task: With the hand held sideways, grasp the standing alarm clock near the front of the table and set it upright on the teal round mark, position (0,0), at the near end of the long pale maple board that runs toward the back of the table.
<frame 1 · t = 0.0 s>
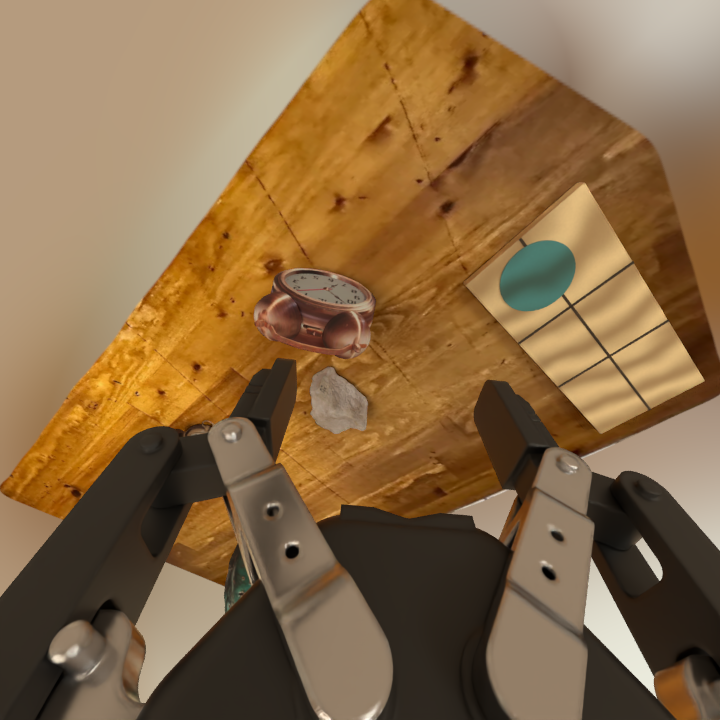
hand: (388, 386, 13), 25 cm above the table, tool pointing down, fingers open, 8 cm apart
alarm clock: (329, 287, 37), on the table
stone: (337, 392, 45), on the table
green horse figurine: (278, 545, 70), on the table
board: (588, 332, 38), on the table
compass: (203, 430, 50), on the table
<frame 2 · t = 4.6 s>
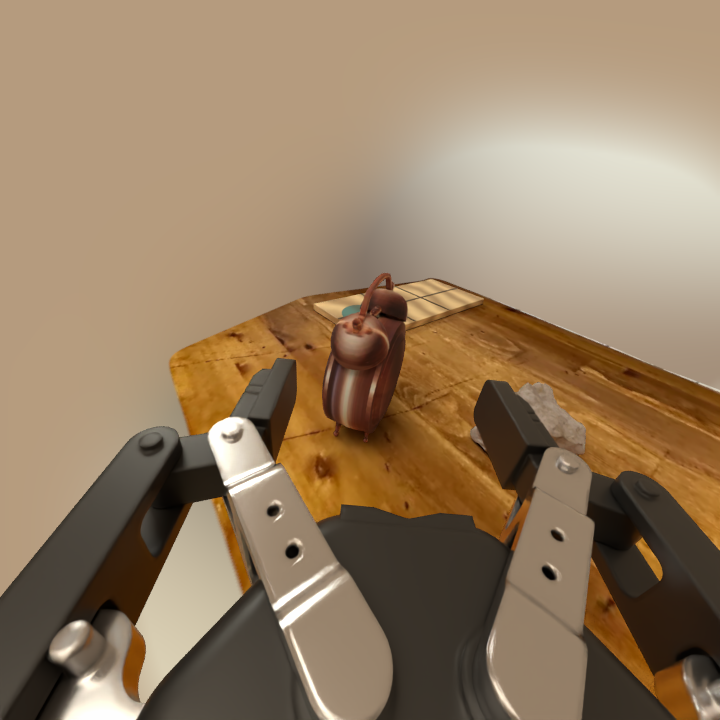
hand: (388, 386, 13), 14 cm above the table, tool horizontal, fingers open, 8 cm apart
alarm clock: (360, 421, 31), on the table
stone: (515, 441, 31), on the table
board: (406, 306, 59), on the table
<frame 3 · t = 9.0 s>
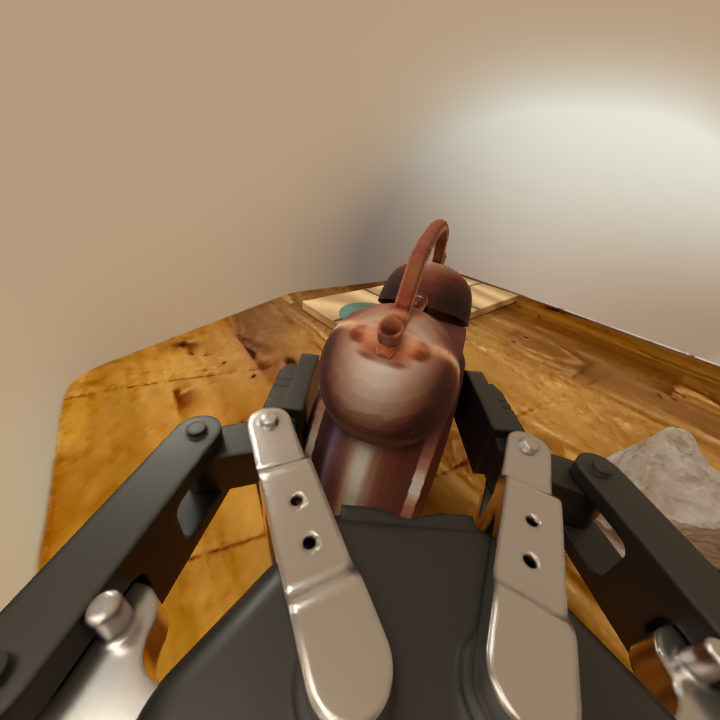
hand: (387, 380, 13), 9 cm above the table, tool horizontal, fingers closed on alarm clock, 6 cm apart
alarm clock: (369, 495, 18), on the table, touching gripper
stone: (635, 530, 18), on the table
board: (422, 305, 46), on the table
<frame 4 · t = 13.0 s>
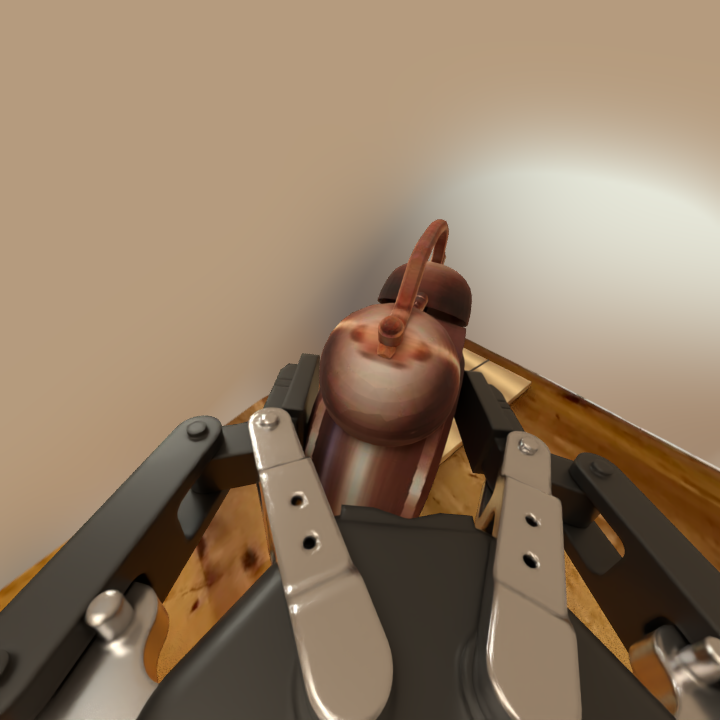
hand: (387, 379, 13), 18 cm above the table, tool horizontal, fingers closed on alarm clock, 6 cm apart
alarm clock: (369, 495, 18), point 9 cm above the table, touching gripper
board: (421, 406, 39), on the table
when the fingers open (10 cm above the table, at t = 17.0 s): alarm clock stays where it is, resting on board.
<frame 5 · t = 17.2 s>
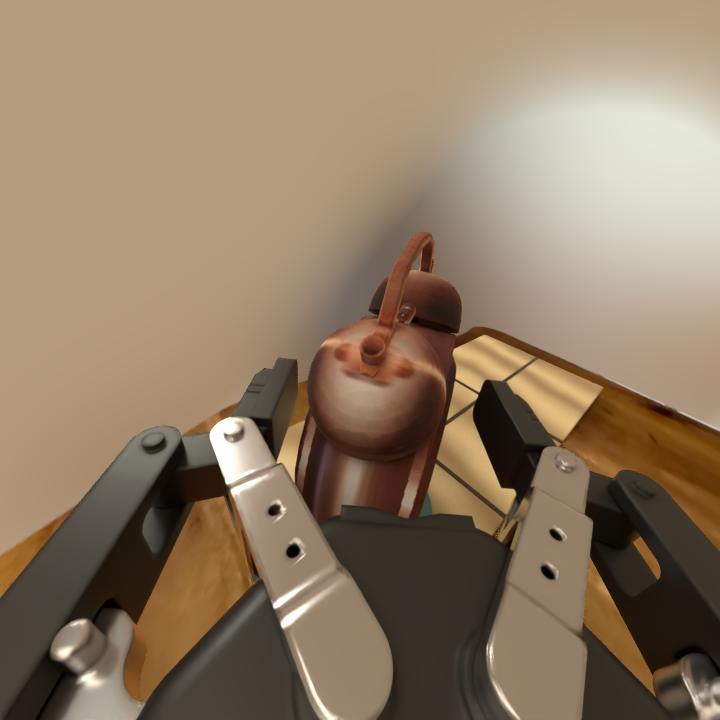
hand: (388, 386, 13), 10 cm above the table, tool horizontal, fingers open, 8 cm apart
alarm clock: (370, 503, 18), point 1 cm above the table, touching board
board: (456, 423, 27), on the table
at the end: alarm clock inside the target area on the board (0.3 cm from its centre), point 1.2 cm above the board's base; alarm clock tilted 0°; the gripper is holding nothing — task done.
